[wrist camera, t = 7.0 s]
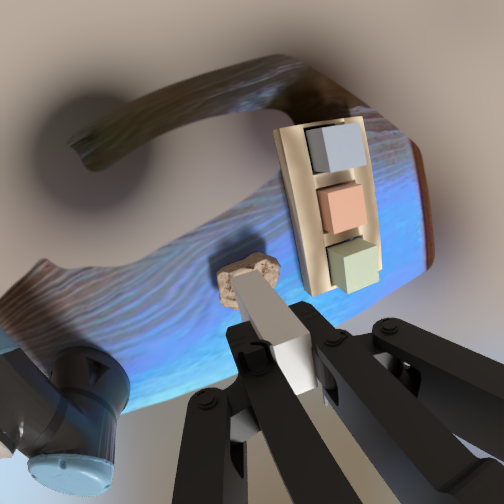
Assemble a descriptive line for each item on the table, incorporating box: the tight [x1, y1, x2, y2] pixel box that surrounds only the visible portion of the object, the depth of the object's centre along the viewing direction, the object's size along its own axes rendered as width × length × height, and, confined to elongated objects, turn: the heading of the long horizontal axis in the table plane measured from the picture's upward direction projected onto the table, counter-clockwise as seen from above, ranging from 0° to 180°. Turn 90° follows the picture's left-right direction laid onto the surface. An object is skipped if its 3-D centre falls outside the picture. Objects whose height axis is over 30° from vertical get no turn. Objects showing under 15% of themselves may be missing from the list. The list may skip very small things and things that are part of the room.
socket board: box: [272, 116, 382, 297], centre depth 46 cm, size 14×26×3 cm, turn 14°
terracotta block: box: [316, 182, 367, 234], centre depth 44 cm, size 6×6×5 cm
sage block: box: [327, 238, 379, 294], centre depth 46 cm, size 6×6×5 cm
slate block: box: [306, 123, 367, 173], centre depth 40 cm, size 6×6×5 cm
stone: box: [217, 252, 280, 310], centre depth 45 cm, size 9×11×5 cm
